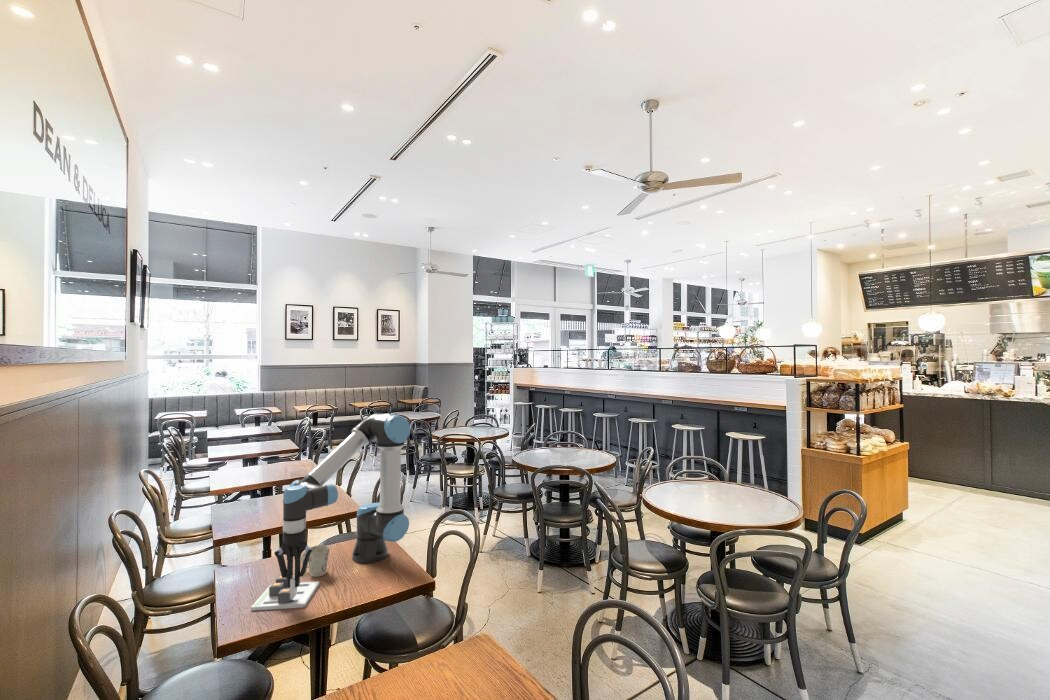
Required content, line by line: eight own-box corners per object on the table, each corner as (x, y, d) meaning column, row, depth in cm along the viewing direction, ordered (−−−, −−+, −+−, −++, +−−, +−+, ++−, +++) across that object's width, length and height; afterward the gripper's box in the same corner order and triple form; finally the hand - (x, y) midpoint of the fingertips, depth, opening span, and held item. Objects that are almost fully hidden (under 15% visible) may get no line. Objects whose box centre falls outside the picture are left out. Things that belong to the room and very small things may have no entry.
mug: (320, 578, 187) (321, 553, 188) (293, 576, 190) (293, 551, 190) (333, 569, 195) (333, 545, 196) (306, 567, 198) (307, 543, 198)
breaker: (292, 598, 169) (292, 588, 169) (289, 602, 166) (289, 592, 166) (281, 599, 168) (281, 588, 168) (277, 603, 165) (278, 592, 165)
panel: (319, 584, 182) (319, 572, 183) (304, 607, 166) (304, 593, 166) (270, 587, 180) (270, 574, 180) (250, 610, 163) (251, 596, 163)
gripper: (316, 525, 173) (315, 589, 172) (279, 527, 171) (278, 592, 170) (310, 532, 165) (309, 599, 165) (271, 534, 163) (270, 602, 163)
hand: (293, 595), depth 167 cm, fingers closed
